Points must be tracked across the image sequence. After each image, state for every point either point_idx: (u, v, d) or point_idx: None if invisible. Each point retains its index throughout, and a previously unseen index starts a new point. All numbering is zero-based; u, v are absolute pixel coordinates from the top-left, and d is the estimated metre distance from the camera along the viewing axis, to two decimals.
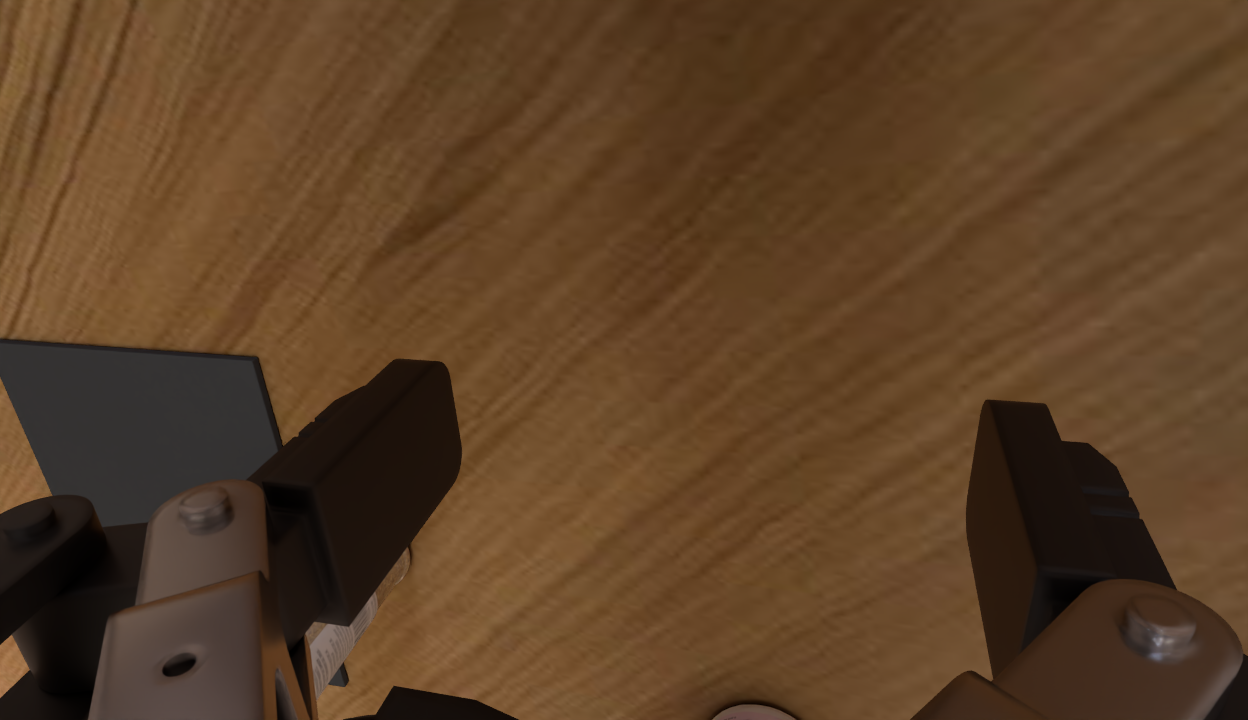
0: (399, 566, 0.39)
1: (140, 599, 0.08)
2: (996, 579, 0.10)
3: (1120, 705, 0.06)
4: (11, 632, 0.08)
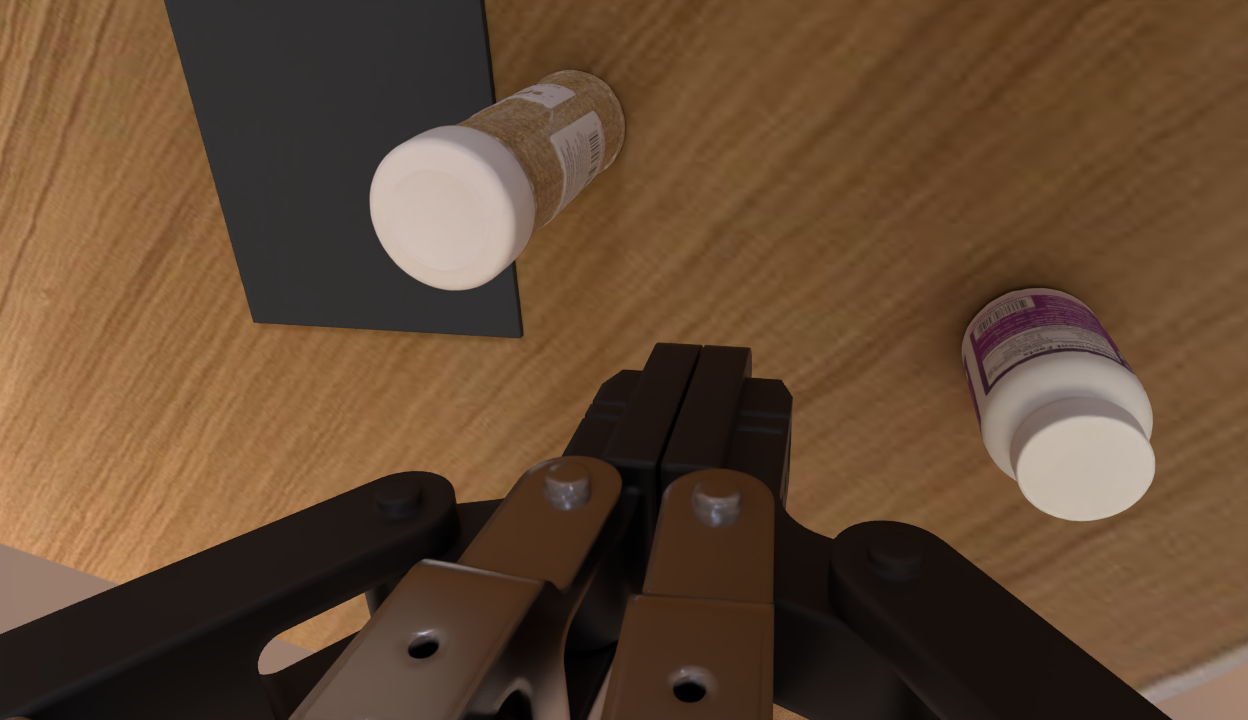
0: (617, 132, 0.33)
1: (470, 549, 0.08)
2: None
3: (726, 565, 0.08)
4: (335, 605, 0.08)
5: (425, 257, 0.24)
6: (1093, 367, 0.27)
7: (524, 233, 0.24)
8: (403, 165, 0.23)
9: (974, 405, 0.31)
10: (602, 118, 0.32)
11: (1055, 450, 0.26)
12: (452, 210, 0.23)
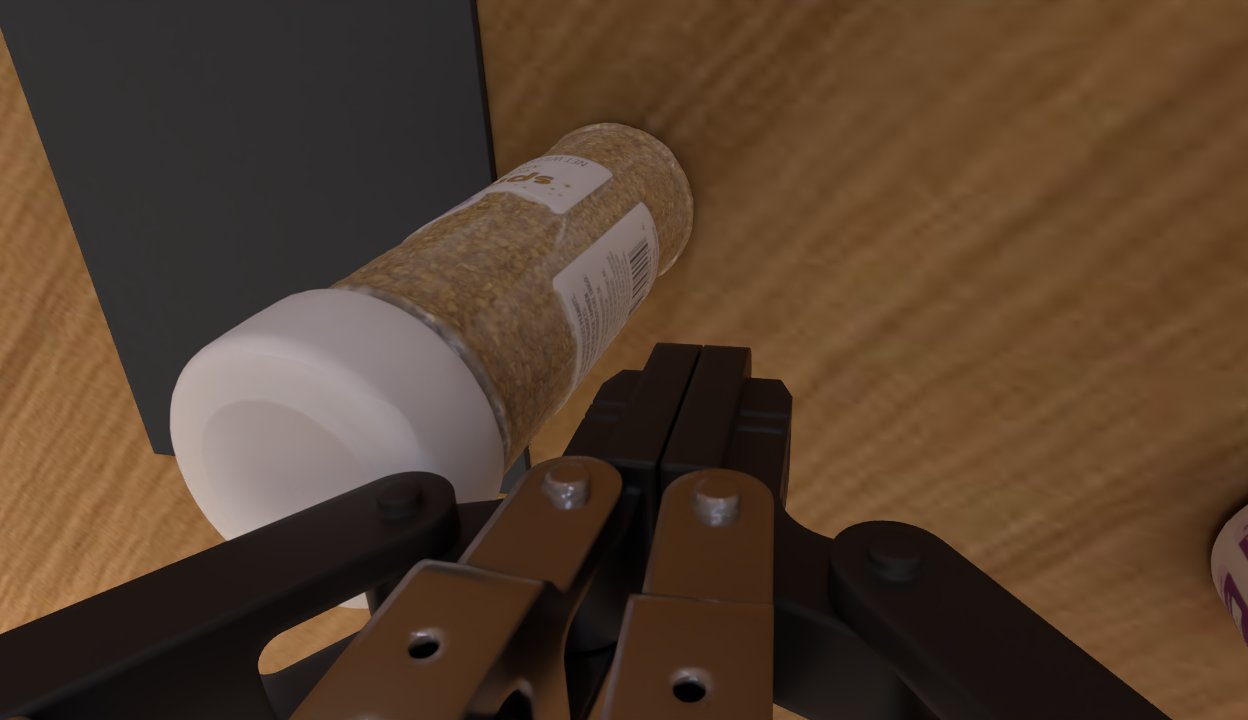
0: (681, 224, 0.21)
1: (470, 549, 0.08)
2: None
3: (726, 565, 0.08)
4: (335, 604, 0.08)
5: None
6: None
7: None
8: (219, 386, 0.11)
9: None
10: (655, 211, 0.19)
11: None
12: (321, 479, 0.11)
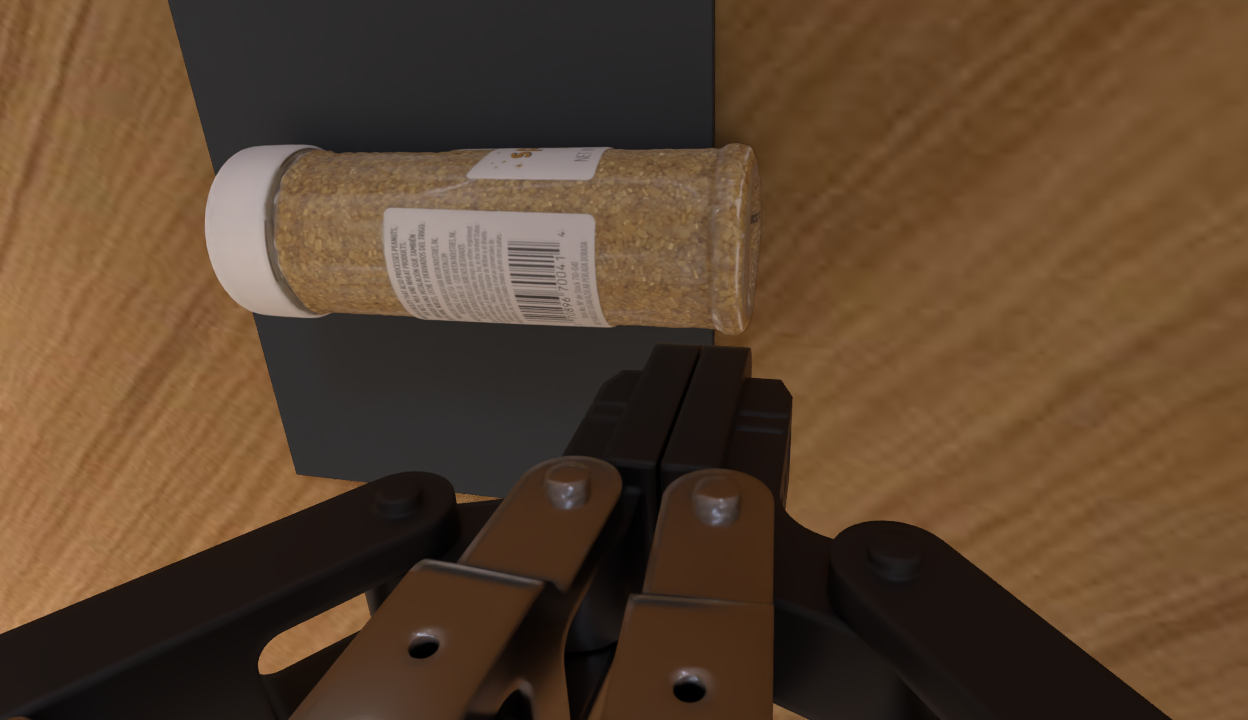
0: (694, 276, 0.18)
1: (470, 549, 0.08)
2: None
3: (726, 565, 0.08)
4: (335, 604, 0.08)
5: None
6: None
7: (245, 285, 0.21)
8: None
9: None
10: (617, 235, 0.18)
11: None
12: None
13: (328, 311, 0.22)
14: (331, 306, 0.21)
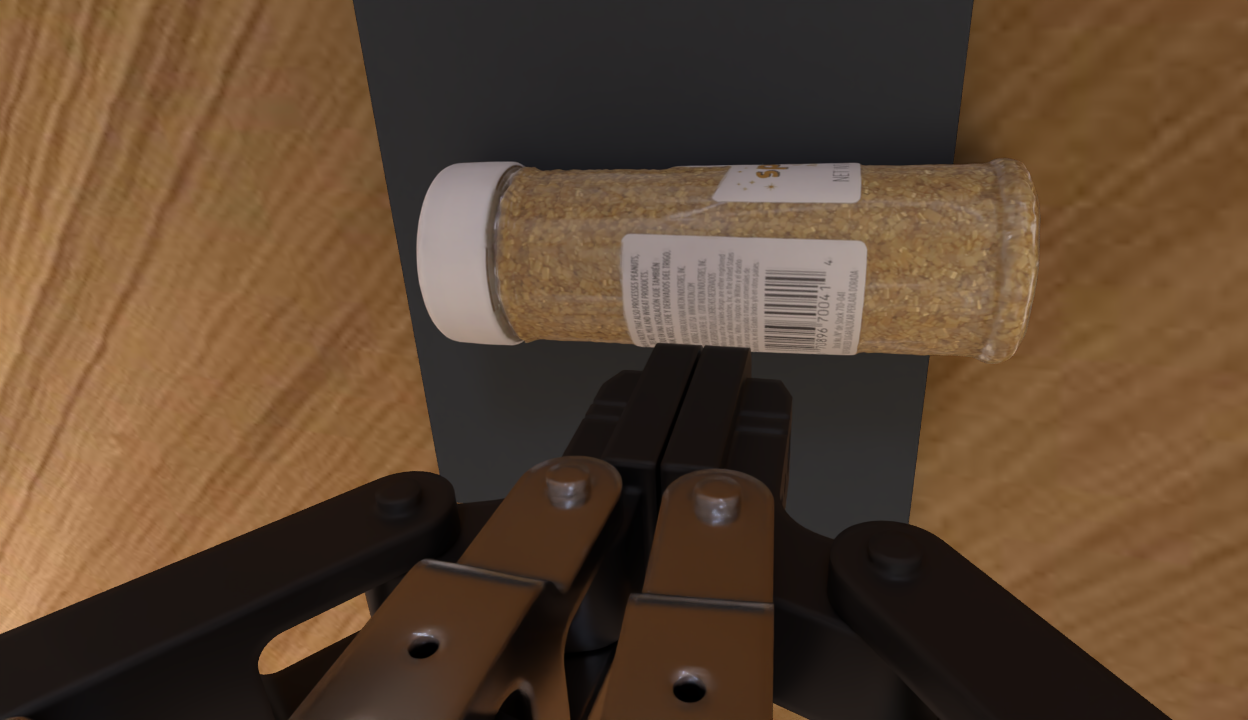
0: (976, 307, 0.17)
1: (470, 549, 0.08)
2: None
3: (726, 565, 0.08)
4: (335, 605, 0.08)
5: None
6: None
7: (458, 315, 0.19)
8: None
9: None
10: (891, 263, 0.17)
11: None
12: None
13: (535, 338, 0.21)
14: (545, 335, 0.20)
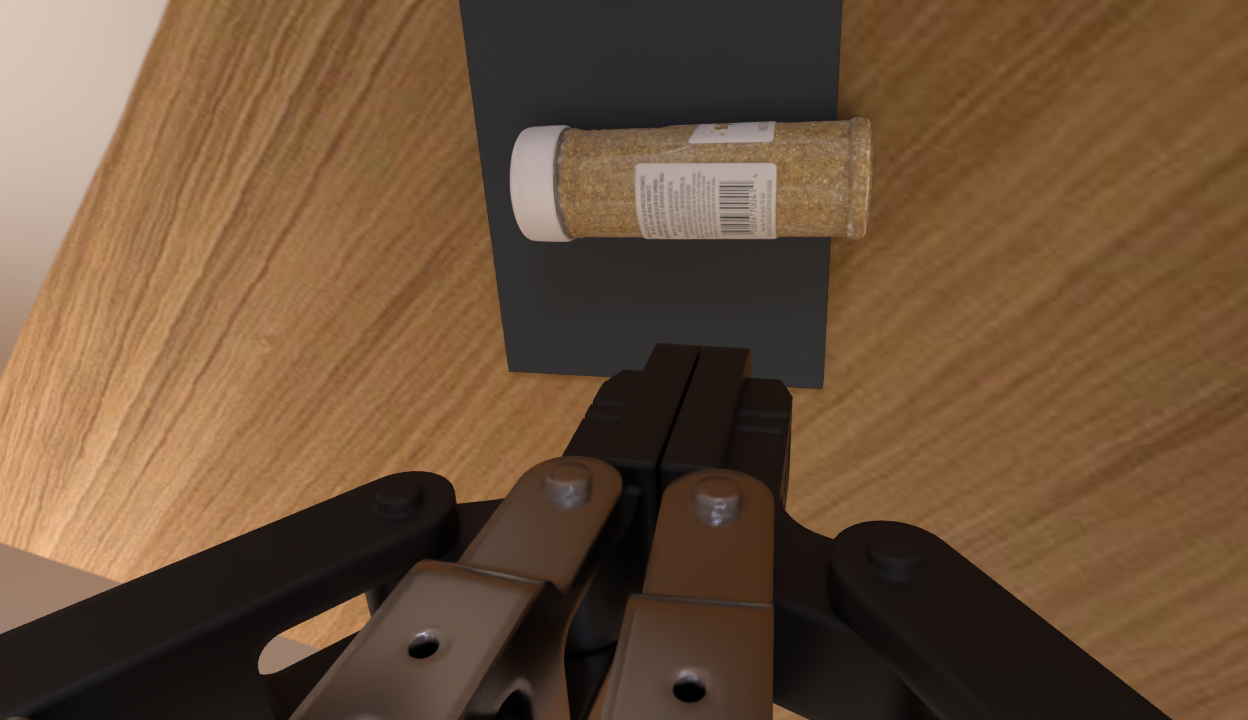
0: (839, 200, 0.29)
1: (470, 549, 0.08)
2: None
3: (726, 565, 0.08)
4: (335, 605, 0.08)
5: None
6: None
7: (534, 217, 0.32)
8: None
9: None
10: (790, 175, 0.29)
11: None
12: None
13: (580, 235, 0.33)
14: (587, 231, 0.32)
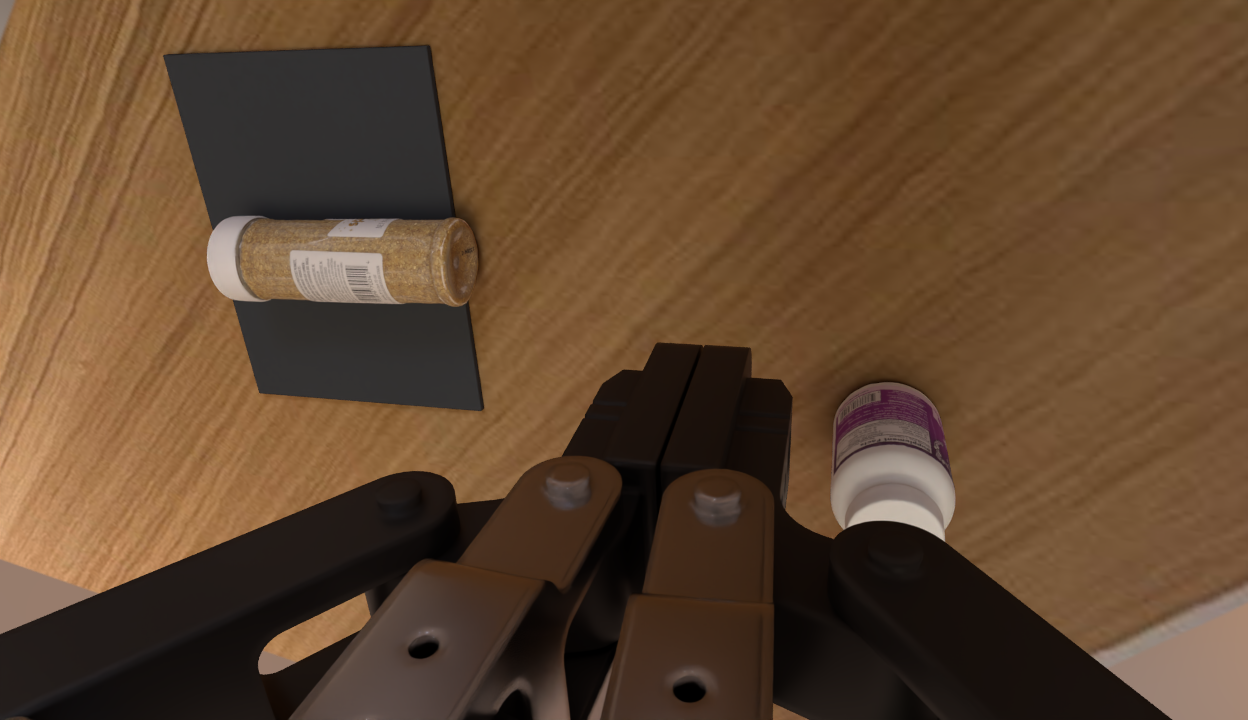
0: (426, 281, 0.40)
1: (470, 549, 0.08)
2: None
3: (726, 566, 0.08)
4: (335, 604, 0.08)
5: None
6: (905, 459, 0.35)
7: (227, 286, 0.43)
8: None
9: None
10: (391, 262, 0.40)
11: None
12: None
13: (269, 298, 0.44)
14: (270, 296, 0.43)
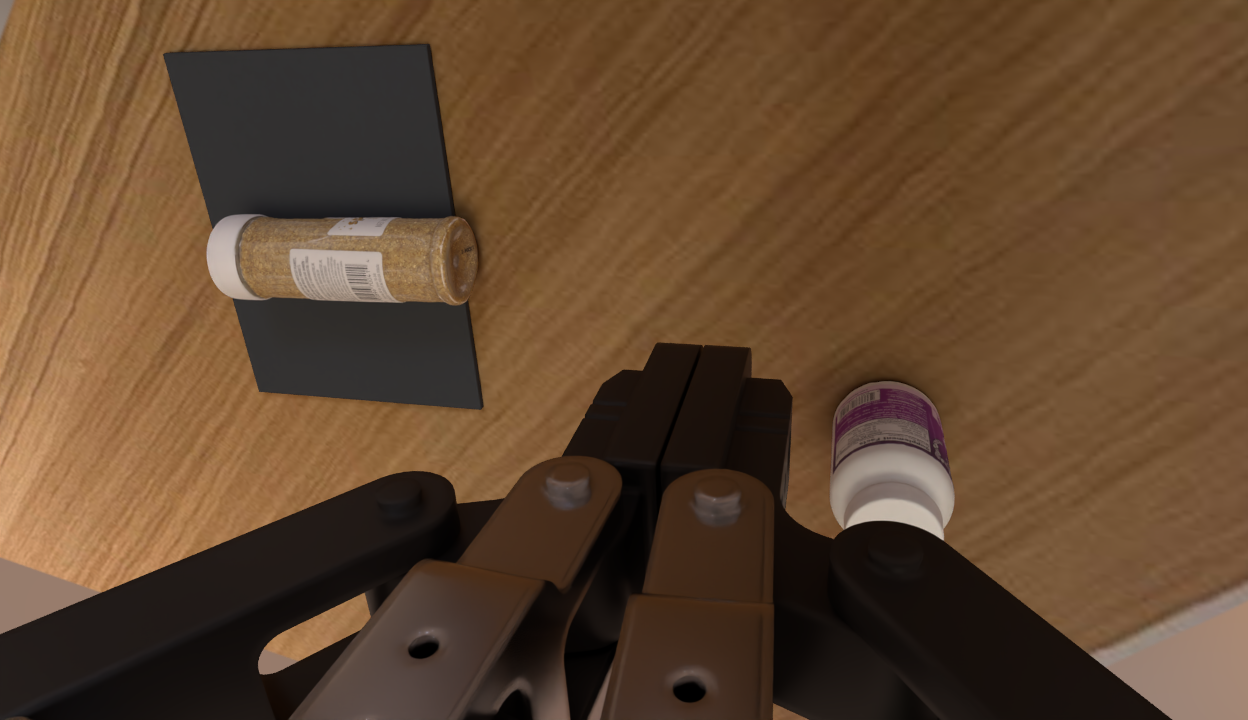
0: (426, 279, 0.40)
1: (471, 549, 0.08)
2: None
3: (725, 565, 0.08)
4: (334, 605, 0.08)
5: None
6: (904, 458, 0.35)
7: (227, 285, 0.43)
8: None
9: None
10: (391, 261, 0.40)
11: None
12: None
13: (269, 296, 0.44)
14: (269, 294, 0.43)
